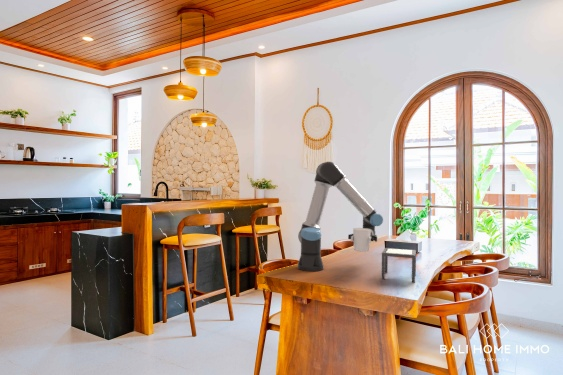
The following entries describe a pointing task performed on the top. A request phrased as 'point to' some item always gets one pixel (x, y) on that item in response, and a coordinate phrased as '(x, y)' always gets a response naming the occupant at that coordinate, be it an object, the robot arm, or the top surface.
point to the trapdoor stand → (385, 256)
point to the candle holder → (361, 239)
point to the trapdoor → (399, 251)
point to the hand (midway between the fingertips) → (360, 239)
